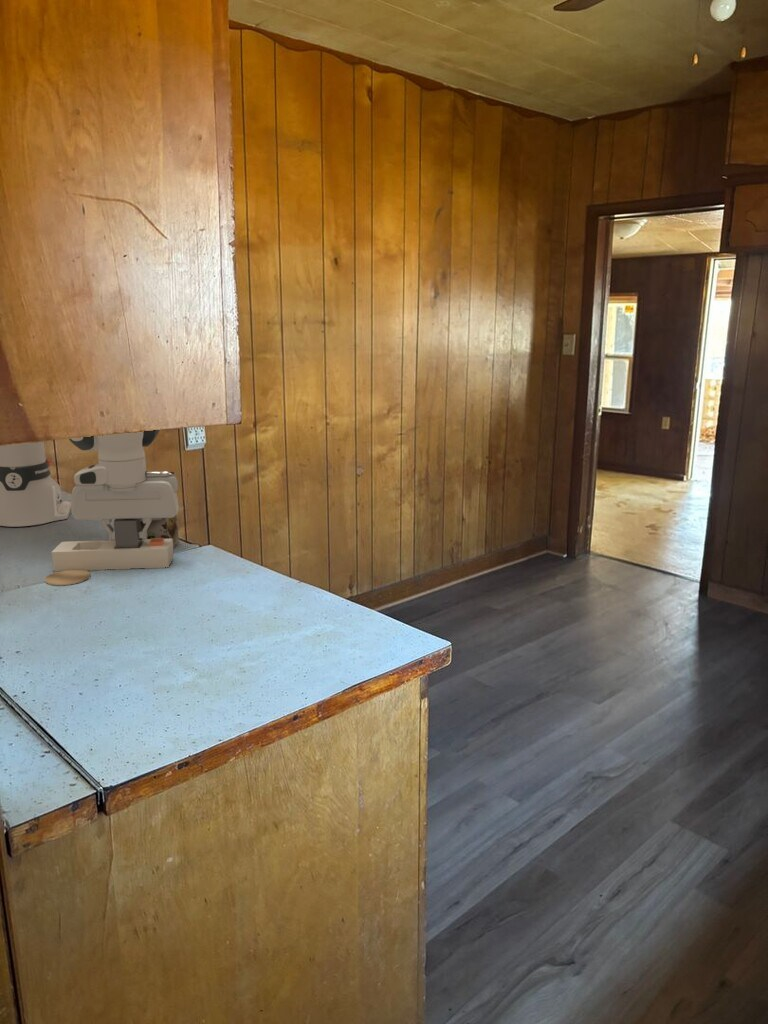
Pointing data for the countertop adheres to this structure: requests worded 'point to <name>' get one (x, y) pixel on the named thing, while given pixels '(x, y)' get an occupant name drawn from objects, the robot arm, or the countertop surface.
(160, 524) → the coffee box
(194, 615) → the countertop surface
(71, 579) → the coaster
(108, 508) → the robot arm
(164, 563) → the power strip
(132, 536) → the block
